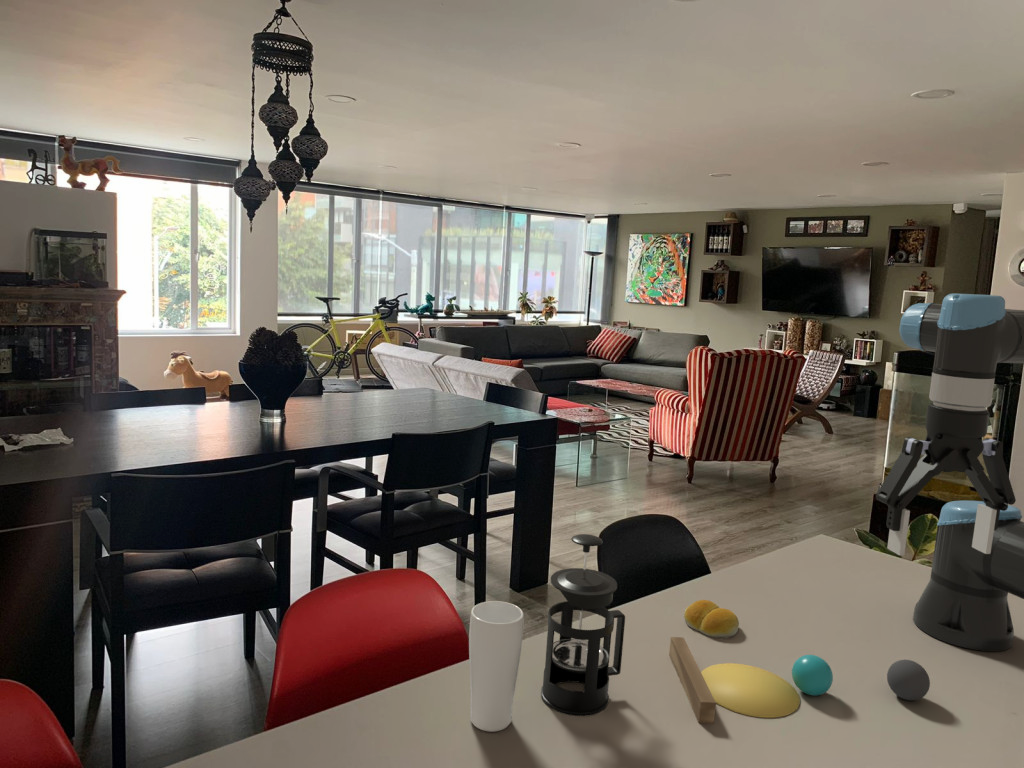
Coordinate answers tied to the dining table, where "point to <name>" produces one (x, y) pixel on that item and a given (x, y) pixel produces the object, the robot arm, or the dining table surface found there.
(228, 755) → the dining table surface
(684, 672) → the wall
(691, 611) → the bread roll
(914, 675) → the ball
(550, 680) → the french press
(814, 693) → the ball
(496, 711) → the drinking glass
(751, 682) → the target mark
